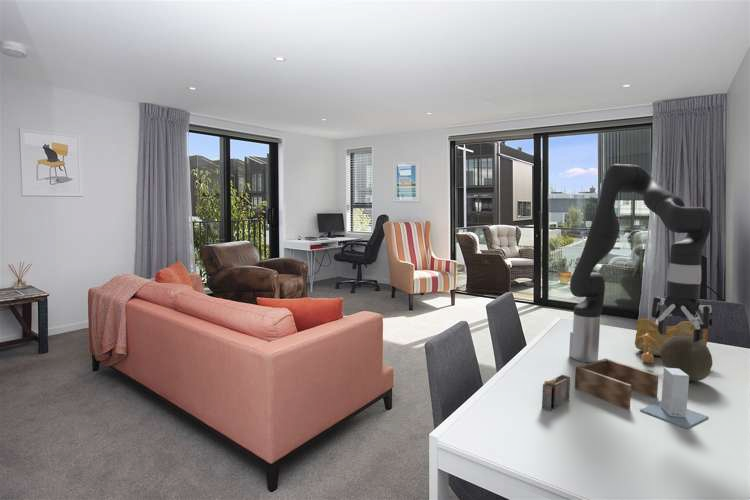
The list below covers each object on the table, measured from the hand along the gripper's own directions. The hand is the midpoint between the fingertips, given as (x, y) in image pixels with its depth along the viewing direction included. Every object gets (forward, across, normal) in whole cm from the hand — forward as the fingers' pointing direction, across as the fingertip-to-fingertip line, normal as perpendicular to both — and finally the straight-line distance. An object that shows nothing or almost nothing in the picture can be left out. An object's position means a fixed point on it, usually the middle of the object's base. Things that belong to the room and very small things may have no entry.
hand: (679, 338), depth 123 cm
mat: (+22, 0, 0) cm, 22 cm away
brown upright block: (+23, -21, -23) cm, 39 cm away
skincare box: (+22, 0, 0) cm, 22 cm away
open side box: (+22, -17, 0) cm, 28 cm away
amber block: (+22, -27, +54) cm, 64 cm away
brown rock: (+22, -11, +30) cm, 39 cm away
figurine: (+22, -26, +35) cm, 49 cm away
